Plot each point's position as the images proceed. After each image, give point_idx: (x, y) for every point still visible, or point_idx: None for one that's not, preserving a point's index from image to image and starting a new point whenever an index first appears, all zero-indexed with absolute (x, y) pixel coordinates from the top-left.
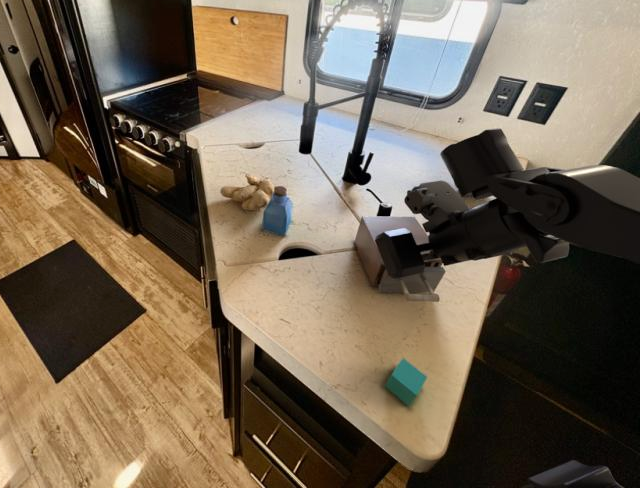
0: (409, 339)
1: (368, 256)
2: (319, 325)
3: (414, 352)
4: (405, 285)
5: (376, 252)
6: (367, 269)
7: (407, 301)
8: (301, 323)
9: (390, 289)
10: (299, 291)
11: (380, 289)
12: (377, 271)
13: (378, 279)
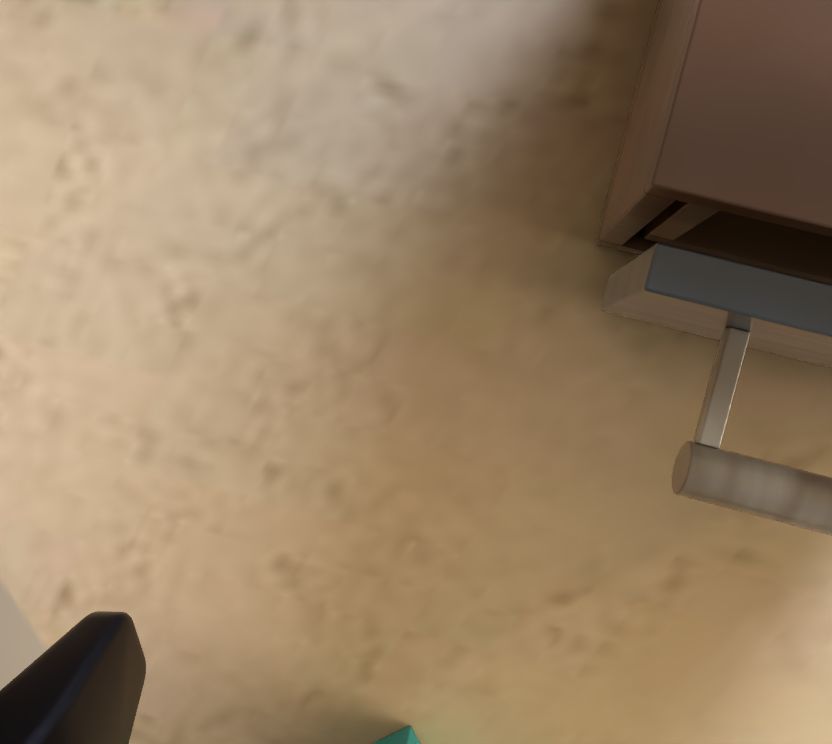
0: (587, 610)
1: (661, 42)
2: (146, 408)
3: (564, 678)
4: (772, 344)
5: (672, 75)
6: (630, 119)
7: (672, 487)
8: (57, 372)
9: (666, 324)
10: (127, 171)
11: (604, 302)
12: (621, 208)
13: (629, 237)
